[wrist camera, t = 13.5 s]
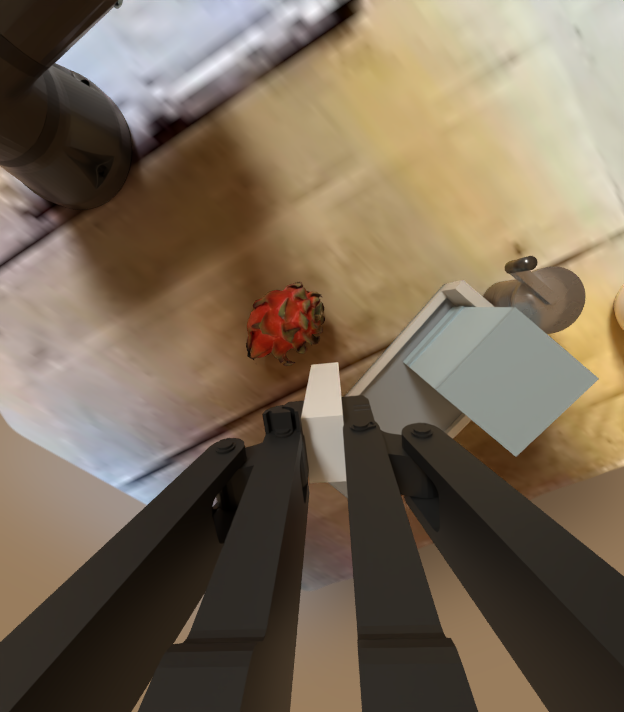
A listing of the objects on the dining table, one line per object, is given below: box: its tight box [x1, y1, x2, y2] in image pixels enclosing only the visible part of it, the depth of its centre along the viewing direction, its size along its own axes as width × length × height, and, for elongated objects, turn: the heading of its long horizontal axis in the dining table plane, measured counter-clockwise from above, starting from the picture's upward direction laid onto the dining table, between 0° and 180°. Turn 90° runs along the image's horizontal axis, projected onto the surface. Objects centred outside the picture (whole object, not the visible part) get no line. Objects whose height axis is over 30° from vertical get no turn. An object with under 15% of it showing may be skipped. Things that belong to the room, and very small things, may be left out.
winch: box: [483, 256, 585, 334], centre depth 33 cm, size 6×9×12 cm
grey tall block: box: [403, 306, 598, 456], centre depth 33 cm, size 9×9×14 cm
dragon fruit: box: [246, 282, 325, 366], centre depth 38 cm, size 8×8×12 cm
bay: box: [328, 280, 494, 498], centre depth 39 cm, size 30×14×6 cm, turn 141°
